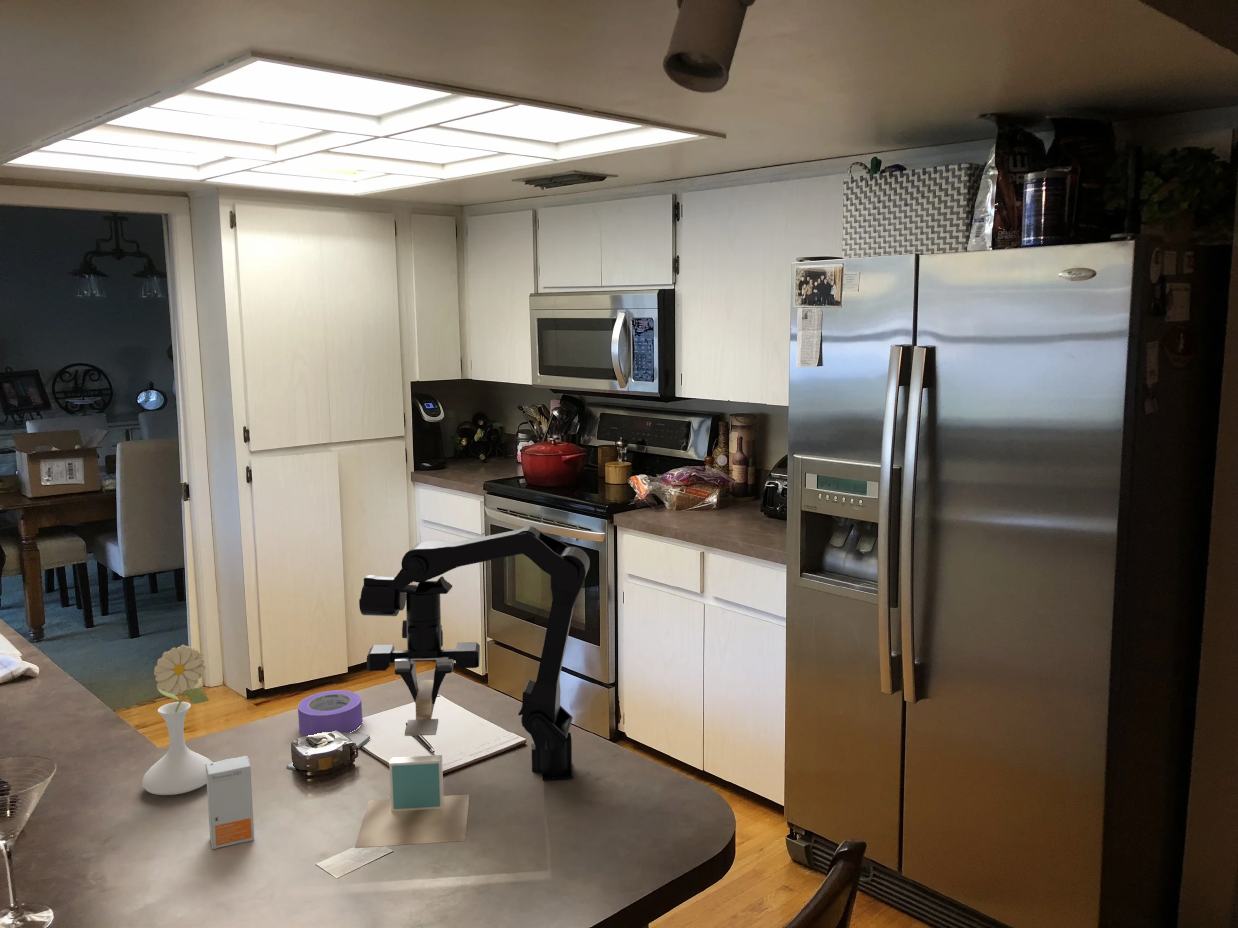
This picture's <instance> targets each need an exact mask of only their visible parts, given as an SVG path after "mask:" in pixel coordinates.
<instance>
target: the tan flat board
mask: <svg viewBox="0 0 1238 928" xmlns="http://www.w3.org/2000/svg"><path fill="white" fill-rule="evenodd" d="M443 796H444V804H443V808H440V809H423V810H406V811H391V798H386V799H385V798H384V799H383V798H382V799H369V800H368V803H367V807H366V810H365V813H364V816H363V819H362V823H361V826H360V829H359V833H358V835H357V840H356V843H355V846H354V848H355V849H357V848H358V849H359V848H373V847H374V848H375V847H378V848H379V847H390V846H392V847H393V846H407V845H409V846H411V845H423V844H424V845H425V844H439V843H440V844H442V843H456V842H466V835H467V823H468V814H469V813H468V812H469V806H470V805H469V802H470V794H455V795H454V794H452V795H443Z"/></svg>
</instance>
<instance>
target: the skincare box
mask: <svg viewBox="0 0 1238 928" xmlns="http://www.w3.org/2000/svg"><path fill="white" fill-rule="evenodd" d="M212 762H213V761H212ZM205 766H206V780H207V783H206V794H207V809H208V810H207V811H208V823H209V824H208V825H209V837H210V843H211V849H212V850H216V849H219V848H223V847H228V846H232V845H237V844H242V843H247V842H252V841H254V840H255V829H254V827H255V826H254V811H253V810H254V808H253V790H252V788H253V787H252V767H251V764H250V760H249V756H248V755H243V756H238V757H231V758H226V759H222V760H219V761H214V762H213V763H207V764H205Z"/></svg>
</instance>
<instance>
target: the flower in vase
mask: <svg viewBox="0 0 1238 928" xmlns="http://www.w3.org/2000/svg"><path fill="white" fill-rule="evenodd" d="M156 662H157V665H156V666H155V667H154V668H153V669H154V672H153V674H154V676H155V679H154V680H155V681H156V682H157V684H156V689H157V690H158V692H159V694H161V695H163V696H165V697H167V698H169V699H173V700H176V702H175V701H174V702H169V703H166V704H164V705H161V706H160V707H159V708H158V709H157V713H158V714H159V715H160V716H162V718H163V719H164V721H165V724H166V727H167V732H168V738H169V741H168V742H169V747H168V750H167V752H165V754H164V755H163V756H162V757H161V758H159V760H157V761H156V762H155V763H154V764H153V765H152V766H150V768H149V769H148V770H147V771H146V772H145V774H144V775H143V778H142V780H141V786H142V787H143V789H144V790H145V791H147V792H148V793H149V794H153V795H159V796H174V795H180V794H185V793H188V792H189V793H190V792H191V791H195V790H197V789H199V788H202V787H203V786H205V785H207V780H206V766H205V764H207V763H213V761H212V760H210V758H208V757H206V756H204V755H202V754H200V753H197V752H196V751H193V750H191V749H190V748H188V747H187V745H186V742H185V734H184V733H185V732H184V729H185V720H186V716H187V714H188V711H189V710H190V708H191V707H192V705H191V704H193V705H198V704H202V703H205V702H206V703H207V702H208V701H210V700H209V698H208V696H207V695H206V694H205V693H204V692H203V690H202V689H201V688H200V687H196V686H197V685H198V684H199V679H201V678H203V674H204V672H205V670H206V669H207V668H206V664H204V662H205V659H204V658H203V653H202V652H200V651H199V650H198V649H196V648H192V647H191V646H188V645H185V644H181V645H180V646H178V647H172V648H170V650H168V651H164V652H163V653H162V656H161V658H158V659H157V661H156ZM182 693H183V695H182V696H181V698H180V699H179V698H178V697H177V695H178V694H182ZM185 697H187V699H188V701H189V702H187V701H183V700H184V699H185Z"/></svg>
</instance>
